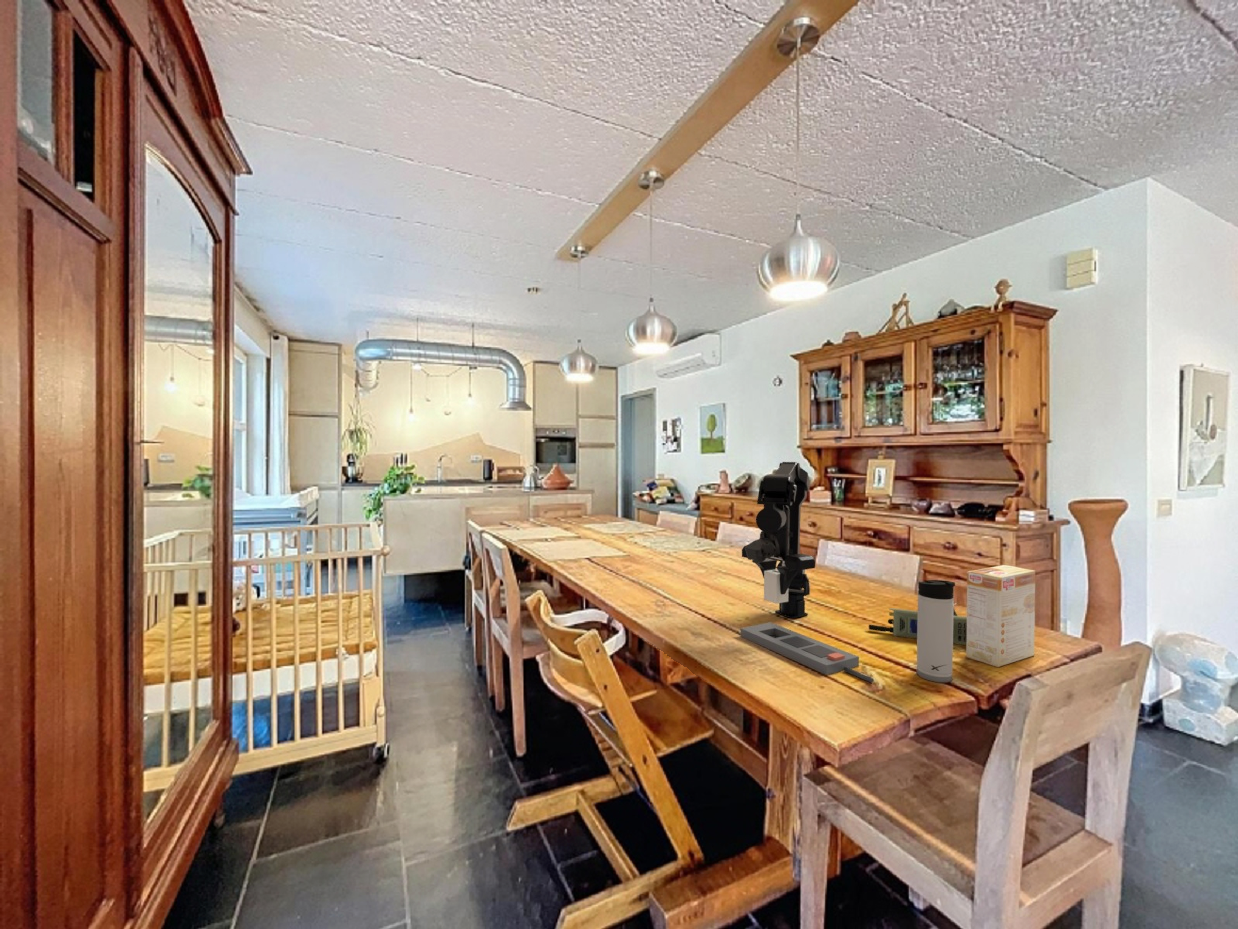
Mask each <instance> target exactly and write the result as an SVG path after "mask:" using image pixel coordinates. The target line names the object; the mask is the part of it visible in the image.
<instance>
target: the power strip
mask: <svg viewBox="0 0 1238 929" xmlns="http://www.w3.org/2000/svg"><path fill="white" fill-rule="evenodd" d="M740 637H741V638H743V639H746V640H748V641H750V642H752V643H754V644H757V645H759V646H761V647H764V648H766V649H768V650H770V651H773V652H774V653H777V654H779V655H781V656H783V657H786V658H787V659H790V660H792V661H795V662H796V663H799V664H801V665H803V666H805V667H808V668H810V669H812V670H814V671H816V672H819V673H821V674H823V675H825V676H829V675H832V674H835V673H839V672H842V671H843V672H845V673H847V674H850V675H852V676H855V677H857V678H859V679H861V680H865V681H866V682H869V683H874V678H873V677H872V676H870V675H867V674H864V673H862V672H860V671H858V670H855V669H852V668H856V667H859V666H860V664H859V663H860V656H859V655H855V654H853V653H851V652H848V651H845V650H842V649H840V648H838V647H835V646H832V645H830V644H827V643H825V642H822V641H820V640H816V639H814V638H811V637H809V636H807V635H805V634H802V633H799V632H796V631H794V630H793V629H792V630H791V629H788V628H786V627H784V626H781V625H778V624H776V623H773V622H771V621H770V622H766V623H765V622H764V623H759V624H757V625H756V624H755V625H751V626H744V627H741V628H740Z"/></svg>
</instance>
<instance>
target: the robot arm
mask: <svg viewBox="0 0 1238 929" xmlns="http://www.w3.org/2000/svg"><path fill="white" fill-rule="evenodd" d="M810 484H811V482H810V476H809V473H808V472H807V471H806V470H804V469H803V468H802V467H801V464H800V462H797V461H782V462H779V466H778V468H777V470H776V471H775V473H773V474H766V475H764V476H763V478H762V479H761V480H760V484H759V490H758V496H757V502H756V504H757V505H763V508H762V509H760V510H759V511H758V513H757V515H756V517H755V522H756V526H757V528H758V529H759V530H760V533H759V538H758V539H755V540H754V541H751V542H750V543H748V544H746V545H744V546H743V548H742V549H741V557H743V558H746V559H748V561H752V563H753V564H755V565H756V566H758V568H759V569H760V572H761V574H762V577H763V579H764V571H767V570H775V569H777V570H778V571H779V573H780V591H781V594H785V593H786V591H787V589H788V602H783V603H778V604H779V605H778V609H777V610H775V611H774V612H775V613H776V614H778V615H781V616H784V617H787V618H790V619H795V618H801V617H806V616H807V617H808V616H809V614H808V612H806V600H805V597H807V596H810V594H811V590H810V589H811V588H810V587H811V586H810V579H809V578H808V574H807V573H806V570H812V569H816V560H815V558H814V557H813V556H812V555H809V554H804V553H800V548H801V546H800V543H801V542H800V541H801V537H800V536H801V509H802V508H801V507H802V505H803V503H804V502H805V501H806V500H807V497H808V492H810Z"/></svg>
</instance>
